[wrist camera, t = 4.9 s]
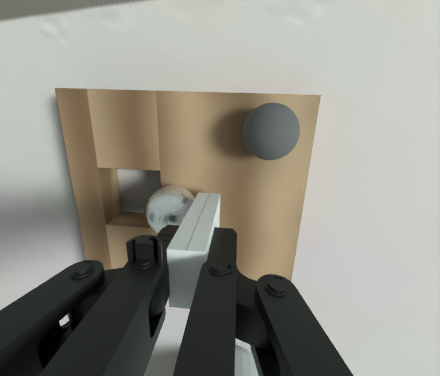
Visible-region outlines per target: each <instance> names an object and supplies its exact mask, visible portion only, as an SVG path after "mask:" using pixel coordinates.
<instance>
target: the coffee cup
mask: <svg viewBox="0 0 440 376" xmlns="http://www.w3.org/2000/svg"><path fill="white" fill-rule="evenodd" d="M235 376H259V375H258V372H257V368H256V365H255V361H254V358H253V354H252V352H250V351H249V350H247V349H245V348H242V347H239V346H235Z"/></svg>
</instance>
